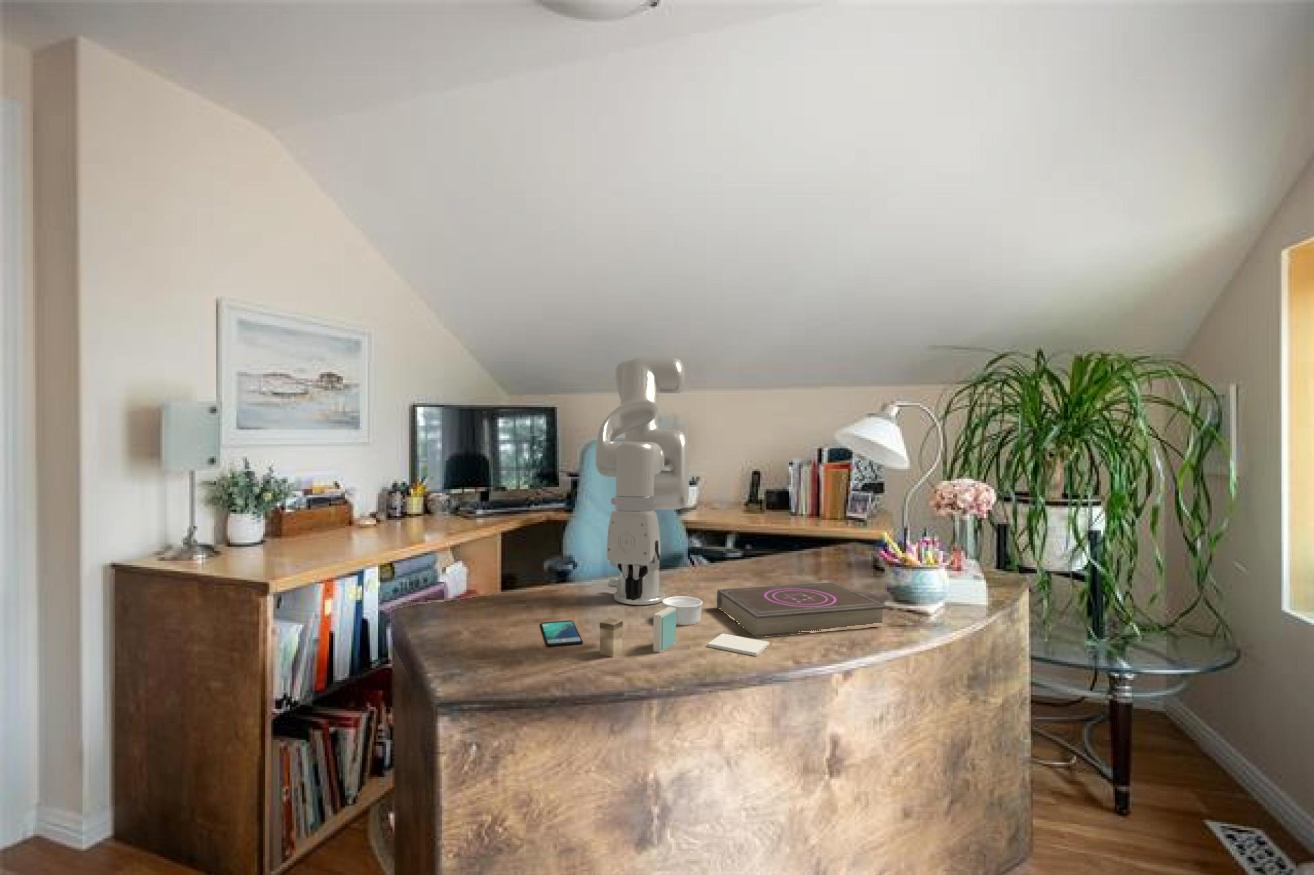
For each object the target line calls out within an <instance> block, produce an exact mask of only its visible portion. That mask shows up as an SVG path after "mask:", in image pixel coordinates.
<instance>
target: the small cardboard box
mask: <svg viewBox="0 0 1314 875" xmlns="http://www.w3.org/2000/svg"><path fill="white" fill-rule="evenodd" d="M623 626H624V621H623V619H617V618H613V617H612V618H611V617H608V618H605V619H603V620H602V621H600V622H599V655H602V656H607V657H612V658H614V657H616V656H618V655H619V654H621V653H623Z"/></svg>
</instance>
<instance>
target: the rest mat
mask: <svg viewBox="0 0 1314 875" xmlns="http://www.w3.org/2000/svg"><path fill="white" fill-rule="evenodd" d="M767 646H768V647H769V646H770V641H767V640H761V639H757V638H749V637H744V636H739V635H734V634H733V635H732V634H727V633H721V634H719V635H718V636H717V637H714V639H712V640H710V641H709V642H708V643H707V647H708V648H713V649H718V650H724V651H729V652H734V653H738V654H744V655H749V656H754V657H757V656H759V655H760V654H761V653H762V652H764V651H765V650H766V649H767V648H768V647H767ZM765 648H766V649H765Z"/></svg>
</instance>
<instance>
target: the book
mask: <svg viewBox="0 0 1314 875" xmlns="http://www.w3.org/2000/svg"><path fill="white" fill-rule="evenodd" d="M716 608H721V609H720V610H723V612H726V613H727V614H728V615H730V616H731V617H733V618H734V619H735V620H734V621H738V622H737V623H740V624H739V625H738V626H740V625H741V626H742V627H744V628H743V630H745V629H746V630H747V631H746V630H745V631H746V632H748V631H749V632H748V633H749V634H750V633H751V634H752V635H751V634H750V635H751V636H753V635H754V636H755V637H756V638H755V637H754V636H753V637H754V638H755V639H761V638H760V637H765V636H777V637H779V636H778V635H788V636H791V635H790V634H798V633H810V632H801V631H811V630H812V631H813V630H814V631H815V630H816V631H817V630H818V631H819V629H830V628H836V627H847V626H855V625H866V624H873V623H883V612H884V611H883V610H888V609H889V606H888V605H887V604H884V603H882V602H879V601H877V600H876V599H873V598H870V597H868V596H866V595H864V594H862V593H859V592H856V591H854V590H852V589H850V588H848V587H845V586H842V585H841V584H838V583H836V582H814V583H797V584H784V585H783V584H782V585H769V586H753V587H751V586H750V587H737V588H736V587H735V588H720V589H717V592H716ZM720 610H719V611H720ZM723 612H722V613H723ZM734 621H733V622H734ZM737 623H736V624H737ZM883 624H884V623H883ZM741 626H740V627H741ZM742 627H741V628H742ZM799 631H800V632H799ZM820 631H821V630H820ZM765 638H766V637H765Z"/></svg>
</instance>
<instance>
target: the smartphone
mask: <svg viewBox="0 0 1314 875" xmlns="http://www.w3.org/2000/svg"><path fill="white" fill-rule="evenodd" d="M539 625H540V629H541V633H542V636H543V639H544V642H545V646H546V647H547V648H556V647H557V648H559V647H560V648H561V647H569V646H572V647H573V646H582V645H583V644H584V641H583V639H582V636H581V635H580V633H579V631H578V628H577V626H576V625H575V622H574V621H573V620H572V619H571V620H570V619H569V620H555V621H545V622H541V623H540V624H539Z"/></svg>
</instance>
